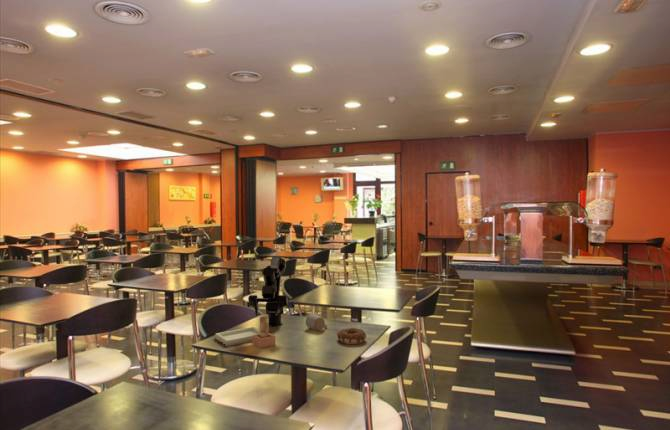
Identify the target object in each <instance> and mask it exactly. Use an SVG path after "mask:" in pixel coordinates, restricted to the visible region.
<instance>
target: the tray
mask: <svg viewBox="0 0 670 430" xmlns="http://www.w3.org/2000/svg"><path fill="white" fill-rule="evenodd" d="M257 334H260V328H256V327H255V326H251V327H250V326H249V327H244V328H238V329H233V330H227V331H222V332H216V333H215V339H216V341H219V342H220V343H221V342H222V343H221V344H223V345H224V344H225V346H226V347H230V346H235V345H239V344H246V343H249V342H253V335H257Z"/></svg>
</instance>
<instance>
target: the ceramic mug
mask: <svg viewBox="0 0 670 430" xmlns="http://www.w3.org/2000/svg"><path fill="white" fill-rule="evenodd" d="M305 325H306V327H307V328H309V329H312V330H314V331H317V332H319V331H321V330H323V329H324V328H325V329H327V327H328V324H326V321H325V319H324V318H323V317H322V316H320V315H318V314H315V313H313V312H312V313H310V314H308V315H307V317H306V318H305Z"/></svg>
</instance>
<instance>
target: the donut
mask: <svg viewBox="0 0 670 430" xmlns="http://www.w3.org/2000/svg"><path fill="white" fill-rule="evenodd" d="M336 336H337V339H338V341H339V342H341V343H342V344H346V345H358V344H361V343H363V342H364V341H365V340H367V333H366V332H365V331H364V330H363V329H361V328H358V327H357V328H356V327H349V328H344V329H341V330H339V331H338V332H337V333H336Z"/></svg>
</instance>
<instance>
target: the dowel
mask: <svg viewBox="0 0 670 430" xmlns="http://www.w3.org/2000/svg"><path fill="white" fill-rule="evenodd" d="M269 326H270V325H269V317H268V316H260V317H259V330H260V338H265V337H268V333H269V328H270V327H269Z"/></svg>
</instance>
